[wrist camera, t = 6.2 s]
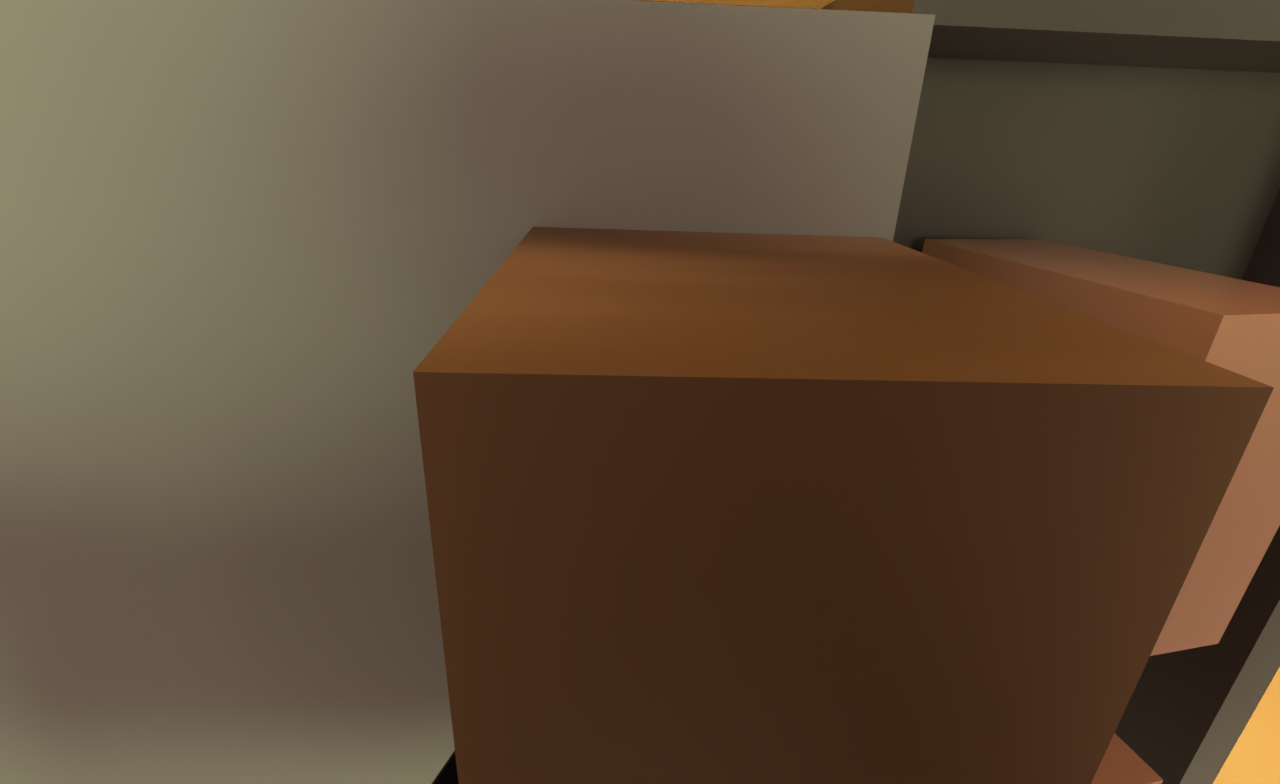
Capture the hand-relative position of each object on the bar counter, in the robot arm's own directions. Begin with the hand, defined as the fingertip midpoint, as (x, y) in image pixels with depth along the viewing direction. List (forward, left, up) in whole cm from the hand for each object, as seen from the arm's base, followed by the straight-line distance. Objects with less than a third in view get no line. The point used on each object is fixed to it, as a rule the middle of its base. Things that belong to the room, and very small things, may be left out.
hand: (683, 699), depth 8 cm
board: (-5, 0, -4) cm, 7 cm away
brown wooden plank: (0, 0, -1) cm, 1 cm away
